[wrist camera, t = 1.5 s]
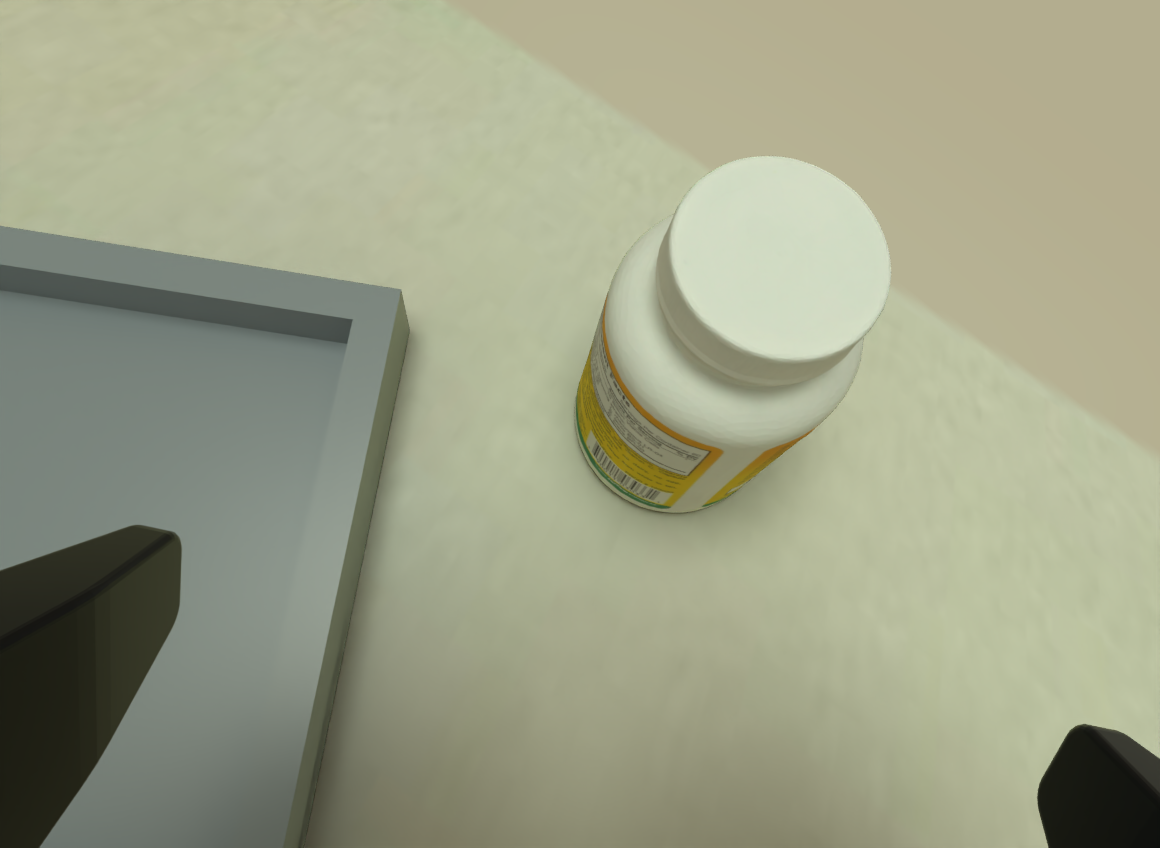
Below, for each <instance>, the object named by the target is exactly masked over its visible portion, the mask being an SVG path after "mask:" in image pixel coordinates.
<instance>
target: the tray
mask: <svg viewBox="0 0 1160 848" xmlns="http://www.w3.org/2000/svg"><path fill="white" fill-rule="evenodd" d="M409 331H410V329H409V324H408V320H407V315H406V310H405V306H404V301H403V296H402V291H401V289H394V288H388V287H382V286H375V285H369V284H363V283H356V282H350V281H344V280H338V279H331V278H325V277H319V276H312V275H306V274H300V273H294V272H287V271H281V270H275V269H268V268H262V267H256V266H249V265H243V264H237V263H231V262H224V261H218V260H212V259H205V258H199V257H193V256H187V255H180V254H174V253H168V252H161V251H155V250H149V249H142V248H136V247H130V246H124V245H117V244H111V243H105V242H98V241H92V240H86V239H79V238H73V237H67V236H61V235H54V234H48V233H42V232H35V231H29V230H23V229H17V228H10V227H4V226H0V570H3V569H6V568H8V567H11V566H14V565H17V564H20V563H23V562H26V561H29V560H32V559H35V558H38V557H41V556H43V555H46V554H49V553H52V552H55V551H58V550H61V549H64V548H67V547H70V546H73V545H76V544H78V543H81V542H84V541H87V540H90V539H93V538H96V537H99V536H102V535H105V534H108V533H111V532H113V531H116V530H119V529H122V528H125V527H128V526H131V525H145V526H149V527H154V528H159V529H163V530H168V531H173V532H175V533H176V534H177V535H178V536H179V537H180V540H181V544H182V561H181V591H180V606H179V612H178V615H177V618H176V621H175V624H174V626H173V628H172V630H171V632H170V634H169V635H168V637H167V639H166V641H165V643H164V645H163V646H162V648H161V650H160V652H159V654H158V655H157V657H156V659H155V661H154V663H153V665H152V666H151V668H150V670H149V672H148V674H147V675H146V677H145V679H144V681H143V683H142V685H141V686H140V688H139V690H138V692H137V694H136V696H135V697H134V699H133V701H132V703H131V705H130V706H129V708H128V710H127V712H126V714H125V716H124V717H123V719H122V721H121V723H120V725H119V726H118V728H117V730H116V732H115V734H114V736H113V737H112V739H111V741H110V743H109V744H108V746H107V748H106V750H105V751H104V753H103V755H102V756H101V758H100V760H99V762H98V763H97V765H96V766H95V768H94V769H93V771H92V772H91V774H90V775H89V777H88V778H87V780H86V782H85V783H84V785H83V786H82V788H81V789H80V790H79V792H78V793H77V795H76V796H75V798H74V799H73V800H72V802H71V803H70V805H69V806H68V808H67V809H66V810H65V812H64V813H63V815H62V816H61V818H60V819H59V820H58V822H57V823H56V825H55V826H54V828H53V829H52V830H51V832H50V833H49V835H48V836H47V838H46V839H45V840H44V842H43V843H42V845H41V846H40V848H304V843H305V838H306V833H307V828H308V824H309V819H310V814H311V809H312V804H313V799H314V794H315V789H316V785H317V780H318V775H319V770H320V765H321V760H322V755H323V750H324V745H325V741H326V736H327V731H328V726H329V721H330V716H331V711H332V706H333V702H334V697H335V692H336V687H337V682H338V677H339V672H340V667H341V663H342V658H343V653H344V648H345V643H346V638H347V633H348V628H349V623H350V619H351V614H352V609H353V604H354V599H355V594H356V589H357V584H358V580H359V575H360V570H361V565H362V560H363V555H364V550H365V545H366V540H367V536H368V531H369V526H370V521H371V516H372V511H373V506H374V501H375V497H376V492H377V487H378V482H379V477H380V472H381V467H382V462H383V458H384V453H385V448H386V443H387V438H388V433H389V428H390V423H391V418H392V414H393V409H394V404H395V399H396V394H397V389H398V384H399V379H400V375H401V370H402V365H403V360H404V355H405V350H406V345H407V340H408V336H409Z"/></svg>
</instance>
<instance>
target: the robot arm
mask: <svg viewBox="0 0 1160 848" xmlns="http://www.w3.org/2000/svg"><path fill="white" fill-rule="evenodd" d="M181 561H182V544H181V540H180V537H179V536H178V535H177V534H176V533H175V532H173V531H168V530H163V529H159V528H154V527H149V526H145V525H131V526H128V527H125V528H122V529H119V530H116V531H113V532H111V533H108V534H105V535H102V536H99V537H96V538H93V539H90V540H87V541H84V542H81V543H78V544H76V545H73V546H70V547H67V548H64V549H61V550H58V551H55V552H52V553H49V554H46V555H43V556H41V557H38V558H35V559H32V560H29V561H26V562H23V563H20V564H17V565H14V566H11V567H8V568H6V569H3V570H0V848H40V846H41V845H42V843H43V842H44V840H45V839H46V838H47V836H48V835H49V833H50V832H51V830H52V829H53V828H54V826H55V825H56V823H57V822H58V820H59V819H60V818H61V816H62V815H63V813H64V812H65V810H66V809H67V808H68V806H69V805H70V803H71V802H72V800H73V799H74V798H75V796H76V795H77V793H78V792H79V790H80V789H81V788H82V786H83V785H84V783H85V782H86V780H87V778H88V777H89V775H90V774H91V772H92V771H93V769H94V768H95V766H96V765H97V763H98V762H99V760H100V758H101V756H102V755H103V753H104V751H105V750H106V748H107V746H108V744H109V743H110V741H111V739H112V737H113V736H114V734H115V732H116V730H117V728H118V726H119V725H120V723H121V721H122V719H123V717H124V716H125V714H126V712H127V710H128V708H129V706H130V705H131V703H132V701H133V699H134V697H135V696H136V694H137V692H138V690H139V688H140V686H141V685H142V683H143V681H144V679H145V677H146V675H147V674H148V672H149V670H150V668H151V666H152V665H153V663H154V661H155V659H156V657H157V655H158V654H159V652H160V650H161V648H162V646H163V645H164V643H165V641H166V639H167V637H168V635H169V634H170V632H171V630H172V628H173V626H174V624H175V621H176V618H177V615H178V612H179V606H180V591H181ZM1037 799H1038V809H1039V813H1040V817H1041V821H1042V824H1043V828H1044V832H1045V836H1046V840H1047V843H1048V847H1049V848H1160V759H1159V758H1158V757H1156V756H1155V755H1154V754H1152V753H1151V752H1150V751H1148V750H1147V749H1145V748H1144V747H1143V746H1141V745H1140V744H1138V743H1137V742H1136V741H1134V740H1133V739H1131V738H1130V737H1129V736H1127V735H1125V734H1124V733H1121V732H1119V731H1116V730H1111V729H1106V728H1102V727H1097V726H1092V725H1087V724H1082V725H1077V726H1075V727H1074V728H1073V729H1071V730H1070V731H1069V733H1068V734H1067V736H1066V737H1065V739H1064V741H1063V743H1062V744H1061V746H1060V748H1059V750H1058V751H1057V753H1056V755H1055V757H1054V758H1053V760H1052V762H1051V764H1050V765H1049V767H1048V769H1047V770H1046V772H1045V774H1044V776H1043V777H1042V779H1041V782H1040V784H1039V788H1038V796H1037Z"/></svg>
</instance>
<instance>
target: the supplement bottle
mask: <svg viewBox="0 0 1160 848" xmlns="http://www.w3.org/2000/svg"><path fill="white" fill-rule="evenodd" d="M890 280H891V263H890V255H889V250H888V246H887V243H886V240H885V236H884V234H883V232H882V229H881V227H880V225H879V223H878V221H877V220H876V218H875V216H874V215H873V213H872V212H871V210H870V209H869V207H868V206H867V205H866V203H865V202H864V201H863V200H862V198H861V197H860V196H859V195H858V194H857V193H856V192H855V191H854V190H853V189H851V188H850V187H849V186H848V185H846V184H845V183H844V182H843V181H841V180H840V179H838V178H837V177H835V176H834V175H832V174H830V173H829V172H827V171H825V170H823V169H821V168H819V167H817V166H815V165H812V164H809V163H806V162H803V161H800V160H795V159H791V158H787V157H778V156H758V157H749V158H744V159H740V160H735V161H732V162H730V163H727V164H724V165H722V166H720V167H718V168H717V169H715V170H713V171H711V172H710V173H708V174H707V175H705V176H704V177H703V178H701V179H700V180H699V181H698V182H697V183H696V184H695V185H694V186H693V187H692V188H691V189H690V190H689V191H688V192H687V194H686V195H685V196H684V198H683V199H682V201H681V202H680V204H679V205H678V207H677V209H676V211H675V213H674V214H673V215H671V216H669V217H667V218H665V219H663V220H662V221H660V222H659V223H657V224H656V225H654V226H653V227H652V228H650V229H649V230H648V231H647V232H645V233H644V234H643V235H642V236H641V237H640V238H639V239H638V240H637V241H636V242H635V243H634V245H633V246H632V247H631V248H630V249H629V251H628V252H627V253H626V255H625V256H624V258H623V259H622V261H621V263H620V265H619V267H618V269H617V271H616V273H615V275H614V277H613V280H612V282H611V285H610V288H609V291H608V293H607V297H606V300H605V304H604V307H603V310H602V313H601V316H600V319H599V323H598V326H597V329H596V333H595V336H594V339H593V343H592V346H591V349H590V353H589V356H588V359H587V362H586V365H585V368H584V370H583V374H582V376H581V379H580V382H579V386H578V391H577V395H576V400H575V412H574V414H575V427H576V432H577V437H578V441H579V444H580V446H581V449H582V451H583V454H584V456H585V458H586V460H587V461H588V463H589V465H590V466H591V468H592V469H593V471H594V472H595V473H596V475H597V476H598V477H599V478H600V479H601V480H602V482H604V483H605V484H606V485H607V486H608V487H609V488H610V489H611V490H613V491H614V492H615V493H616V494H618V495H619V496H621V497H622V498H624V499H626V500H627V501H629V502H631V503H633V504H636V505H638V506H640V507H643V508H647V509H650V510H655V511H661V512H670V513H682V512H691V511H695V510H699V509H703V508H706V507H709V506H712V505H714V504H716V503H718V502H720V501H722V500H724V499H725V498H727V497H728V496H730V495H731V494H733V493H734V492H736V491H737V490H738V489H739V488H741V487H742V486H743V485H744V484H745V483H747V482H748V481H750V480H751V479H752V478H753V477H754V476H755V475H757V474H758V473H759V472H760V471H761V470H763V469H764V468H765V467H766V466H768V465H769V464H770V463H771V462H773V461H774V460H775V459H777V458H778V457H779V456H780V455H782V454H783V453H784V452H785V451H786V450H788V449H789V448H790V447H792V446H793V445H794V444H796V443H797V442H798V441H800V440H801V439H802V438H804V437H805V436H807V435H808V434H809V433H810V432H812V431H813V430H814V429H815V428H816V427H817V426H818V425H819V424H820V423H821V422H823V421H824V420H825V419H826V418H827V417H828V416H829V415H830V414H831V413H832V412H833V411H834V409H835V408H836V407H837V406H838V405H839V403H840V402H841V401H842V399H843V398H844V397H845V395H846V393H847V392H848V390H849V388H850V386H851V384H852V383H853V380H854V378H855V376H856V373H857V370H858V367H859V364H860V360H861V355H862V349H863V340H864V336H865V335H866V334H867V333H868V332H869V330H870V329H871V328H872V326H873V325H874V323H875V322H876V320H877V319H878V317H879V316H880V314H881V312H882V311H883V309H884V306H885V303H886V300H887V297H888V292H889V287H890Z"/></svg>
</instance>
